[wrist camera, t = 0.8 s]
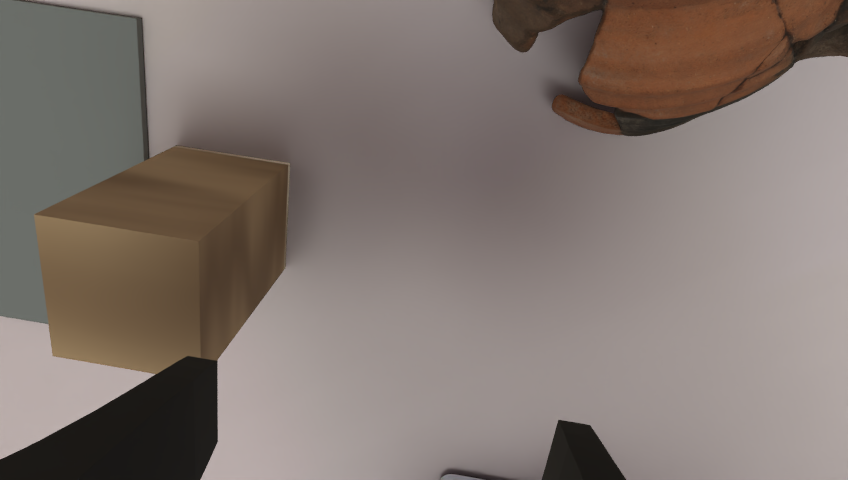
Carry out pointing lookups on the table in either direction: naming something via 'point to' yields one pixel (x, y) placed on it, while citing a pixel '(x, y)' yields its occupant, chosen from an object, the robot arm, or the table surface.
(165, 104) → the table surface
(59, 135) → the rubber mat
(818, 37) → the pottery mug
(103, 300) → the walnut block
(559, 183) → the table surface
